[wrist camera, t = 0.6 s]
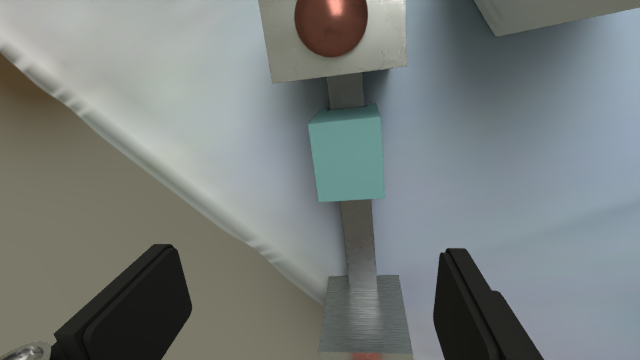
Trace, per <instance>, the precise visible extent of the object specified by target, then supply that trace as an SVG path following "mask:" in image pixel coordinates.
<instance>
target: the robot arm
mask: <svg viewBox="0 0 640 360" xmlns="http://www.w3.org/2000/svg"><path fill="white" fill-rule="evenodd" d="M191 311H192V304H191V300H190V296H189V293H188V288H187V285H186V280H185V277H184V273H183V269H182V265H181V261H180V258H179V254H178V251H177V249H175V248H174V247H173V246H172V245H171V244H154V245H153V246H151V247H150V248H149V249H148V250H147V251H146V252H145V253H143V254H142V255H141V256H140V257H139V258H138V259H137V260H136V261H135V262H133V263H132V264H131V265H130V266H129V267H128V268H127V269H126V270H125V271H123V272H122V273H121V274H120V275H119V276H118V277H117V278H116V279H115V280H113V281H112V282H111V283H110V284H109V285H108V286H107V287H106V288H104V289H103V290H102V291H101V292H100V293H99V294H98V295H97V296H95V297H94V298H93V299H92V300H91V301H90V302H89V303H88V304H87V305H85V306H84V307H83V308H82V309H81V310H80V311H79V312H78V313H76V314H75V315H74V316H73V317H72V318H71V319H70V320H69V321H68V322H66V323H65V324H64V325H63V326H62V327H61V328H60V329H59V330H58V331H56V332H55V333H54V336H55V338H56V340H57V342H56V343H55V344H54V345H53V346H52V347H51V345H50V344H49V343H47V342H43V341H38V342H31V343H28V344H25V345H22V346H20V347H18V348H15V349H13V350H11V351H9V352H8V353H6V354H4V355H3V356H1V357H0V360H161V359H162V358H163V356H164V355H165V353H166V351H167V350H168V348H169V347H170V345H171V344H172V342H173V341H174V339H175V338H176V336H177V334H178V333H179V332H180V330H181V329H182V327H183V326H184V324H185V322H186V321H187V319H188V318H189V316H190V314H191ZM433 320H434V326H435V329H436V333H437V336H438V339H439V342H440V345H441V349H442V352H443V355H444V358H445V360H544V359H543V357H542V356H541V354H540V353H539V351H538V350H537V348H536V347H535V345H534V344H533V342H532V340H531V339H530V337H529V336H528V334H527V333H526V331H525V330H524V328H523V327H522V325H521V324H520V322H519V320H518V319H517V317H516V316H515V314H514V313H513V311H512V310H511V308H510V307H509V305H508V303H507V302H506V300H505V299H504V297H503V296H502V295H501V293H500V292H498V291H492V290H491V289H490V287H489V285H488V284H487V282H486V280H485V279H484V277H483V276H482V274H481V272H480V271H479V269H478V267H477V266H476V264H475V263H474V261H473V259H472V258H471V256H470V254H469V253H468V251H467V250H466V249H462V248H447V249H446V251H445V253H440V257H439V267H438V276H437V285H436V294H435V304H434V313H433Z"/></svg>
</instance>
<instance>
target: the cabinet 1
mask: <svg viewBox="0 0 640 360" xmlns="http://www.w3.org/2000/svg"><path fill="white" fill-rule="evenodd" d="M258 1H259V7H260V13H261V19H262V25H263V31H264V37H265V43H266V48H267V54H268V60H269V66H270V72H271V78H272V83H280V82H288V81H296V80H304V79H312V78H319V77H327V76H335V75H343V74H351V73H358V72H366V71H374V70H382V69H390V68H397V67H405V66H407V56H406V9H405V0H258Z"/></svg>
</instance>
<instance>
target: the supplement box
mask: <svg viewBox="0 0 640 360" xmlns="http://www.w3.org/2000/svg"><path fill="white" fill-rule="evenodd" d="M474 1H475V3H476V5H477V7H478V8H479V10H480V12H481V13H482V15H483V17H484V19H485V20H486V22H487V24H488V25H489V27H490V29H491V30H492V32H493V33H494V35H495V36H496V37H499V36H504V35H508V34H513V33H518V32H523V31H528V30H533V29H537V28H542V27H547V26H552V25H557V24H562V23H567V22H571V21H576V20H582V19H586V18H591V17H596V16H601V15H606V14H611V13H616V12H620V11H625V10H630V9H635V8H639V7H640V0H474Z"/></svg>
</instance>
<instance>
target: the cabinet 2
mask: <svg viewBox="0 0 640 360" xmlns="http://www.w3.org/2000/svg"><path fill="white" fill-rule="evenodd" d="M376 277H377V288H350V285H349V276H329V282H328V288H327V295H326V302H325V309H324V316H323V322H322V329H321V336H320V343H319V350H318V354H319V359H320V360H413V352H412V346H411V341H410V335H409V330H408V324H407V319H406V313H405V308H404V302H403V297H402V291H401V286H400V280H399V275H383V276H376Z"/></svg>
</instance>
